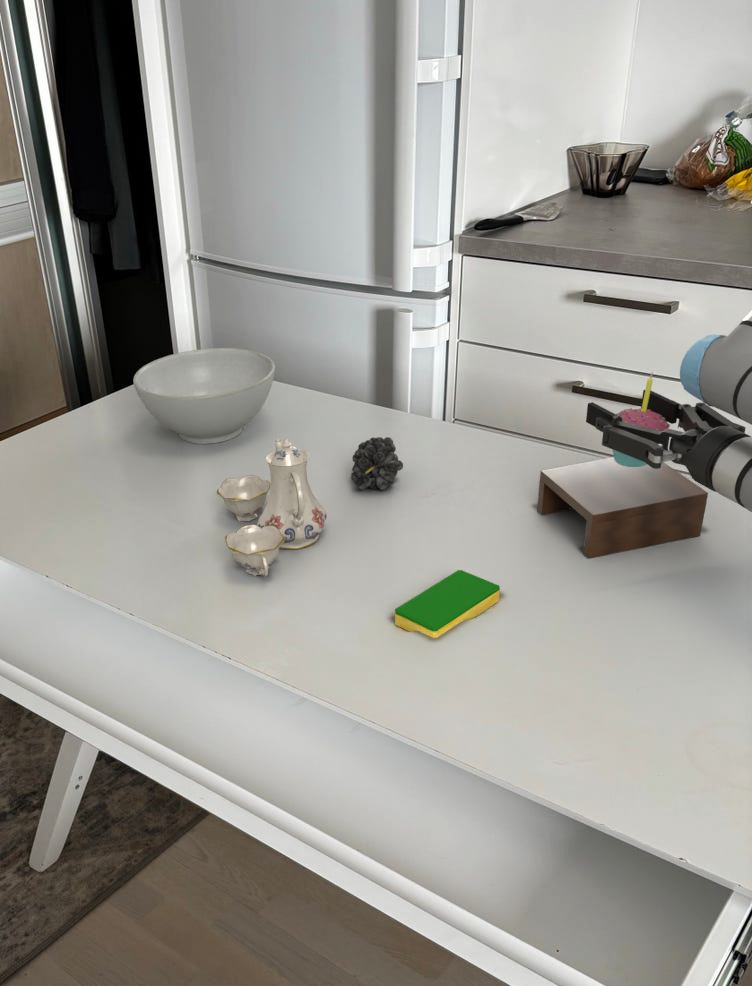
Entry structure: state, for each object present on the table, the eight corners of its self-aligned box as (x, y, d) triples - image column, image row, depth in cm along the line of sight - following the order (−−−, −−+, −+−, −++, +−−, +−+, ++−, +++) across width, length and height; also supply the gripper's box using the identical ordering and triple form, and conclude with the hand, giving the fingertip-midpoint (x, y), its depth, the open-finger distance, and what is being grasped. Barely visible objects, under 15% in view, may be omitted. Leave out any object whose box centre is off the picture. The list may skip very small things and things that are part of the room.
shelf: (640, 491, 157) (646, 450, 153) (700, 535, 144) (708, 492, 140) (536, 511, 154) (540, 470, 150) (587, 558, 141) (593, 515, 137)
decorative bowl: (115, 437, 193) (105, 377, 186) (219, 396, 207) (212, 339, 200) (201, 473, 176) (193, 408, 169) (307, 425, 190) (304, 364, 183)
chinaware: (212, 516, 164) (190, 425, 155) (307, 491, 166) (291, 399, 156) (242, 601, 142) (218, 500, 132) (352, 571, 143) (336, 469, 133)
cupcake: (620, 443, 141) (630, 361, 134) (676, 457, 136) (690, 373, 129) (588, 464, 136) (598, 380, 130) (646, 479, 131) (658, 393, 124)
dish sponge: (393, 624, 131) (393, 609, 130) (459, 583, 138) (459, 568, 137) (434, 644, 126) (435, 629, 125) (500, 600, 134) (501, 585, 132)
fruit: (363, 411, 169) (359, 444, 157) (409, 424, 170) (408, 459, 157) (349, 456, 174) (343, 492, 162) (393, 469, 175) (391, 505, 162)
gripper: (656, 513, 118) (549, 446, 136) (797, 474, 123) (676, 415, 141) (665, 455, 114) (553, 394, 131) (811, 417, 119) (684, 364, 137)
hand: (617, 405), depth 136 cm, fingers closed on cupcake, 8 cm apart
